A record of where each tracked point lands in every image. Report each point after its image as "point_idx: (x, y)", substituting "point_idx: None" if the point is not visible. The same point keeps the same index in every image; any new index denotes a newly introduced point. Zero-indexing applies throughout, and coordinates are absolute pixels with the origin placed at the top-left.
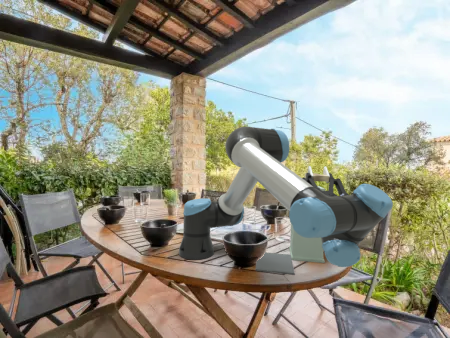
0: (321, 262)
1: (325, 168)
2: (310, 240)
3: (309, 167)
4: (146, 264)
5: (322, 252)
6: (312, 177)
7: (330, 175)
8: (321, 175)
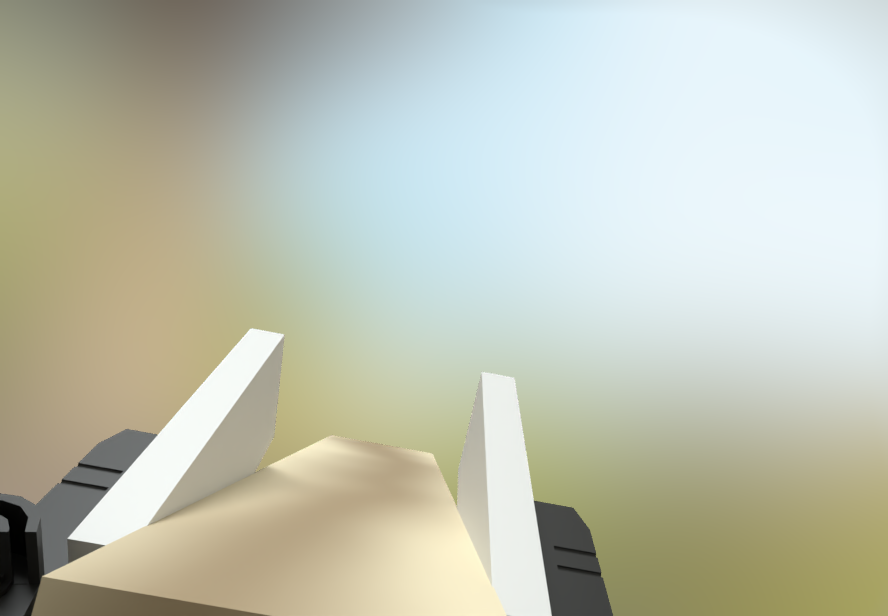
0: None
1: (495, 405)
2: None
3: (245, 348)
4: None
5: None
6: None
7: (564, 568)
8: (369, 548)
